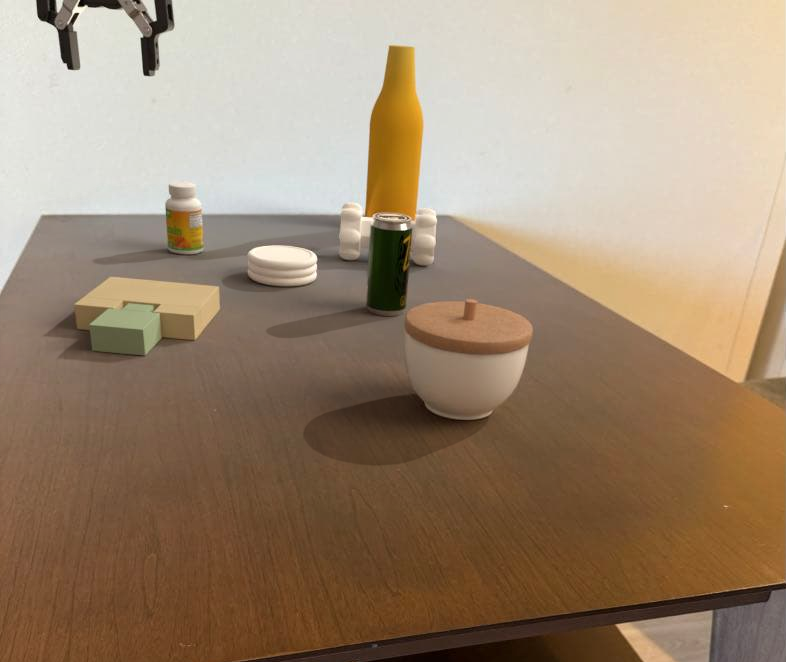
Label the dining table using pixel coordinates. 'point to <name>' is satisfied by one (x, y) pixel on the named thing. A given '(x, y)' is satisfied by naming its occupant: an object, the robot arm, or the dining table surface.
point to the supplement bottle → (184, 219)
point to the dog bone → (358, 233)
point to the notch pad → (154, 304)
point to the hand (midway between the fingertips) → (111, 72)
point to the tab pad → (126, 330)
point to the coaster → (282, 265)
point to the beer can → (388, 263)
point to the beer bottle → (395, 139)
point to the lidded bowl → (465, 356)
